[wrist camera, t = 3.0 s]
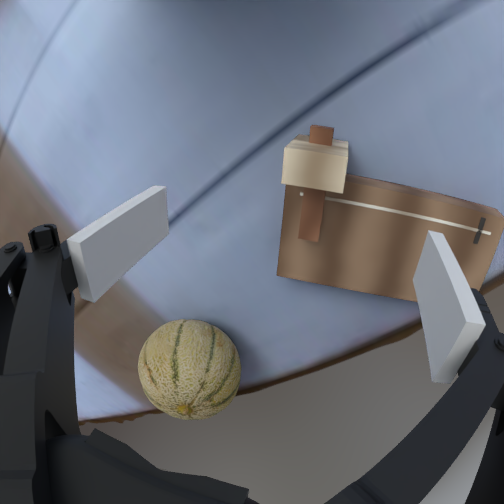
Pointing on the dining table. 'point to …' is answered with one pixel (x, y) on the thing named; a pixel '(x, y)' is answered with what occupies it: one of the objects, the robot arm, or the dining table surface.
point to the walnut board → (384, 237)
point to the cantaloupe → (189, 369)
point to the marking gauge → (315, 174)
